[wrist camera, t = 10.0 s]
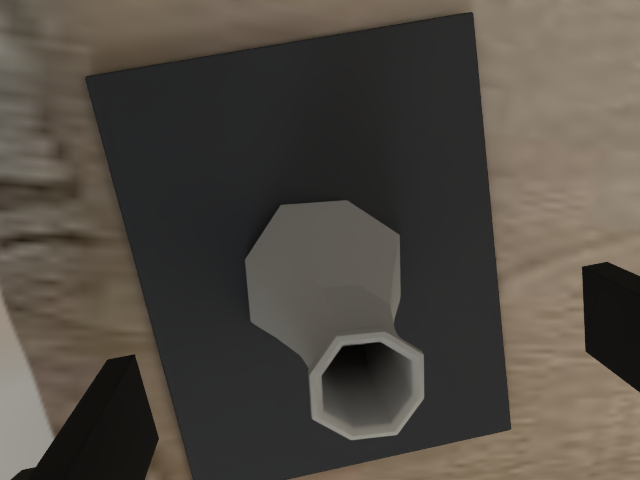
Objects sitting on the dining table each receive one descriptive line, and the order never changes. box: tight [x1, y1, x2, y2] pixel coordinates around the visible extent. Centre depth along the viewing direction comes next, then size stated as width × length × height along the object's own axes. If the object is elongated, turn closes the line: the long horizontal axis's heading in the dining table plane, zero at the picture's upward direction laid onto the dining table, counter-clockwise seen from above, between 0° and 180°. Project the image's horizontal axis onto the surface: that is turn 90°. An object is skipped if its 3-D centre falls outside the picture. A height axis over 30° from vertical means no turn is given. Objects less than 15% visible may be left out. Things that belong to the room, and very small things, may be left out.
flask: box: [245, 200, 424, 440], centre depth 18 cm, size 7×7×10 cm
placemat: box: [85, 12, 511, 480], centre depth 24 cm, size 16×20×1 cm
